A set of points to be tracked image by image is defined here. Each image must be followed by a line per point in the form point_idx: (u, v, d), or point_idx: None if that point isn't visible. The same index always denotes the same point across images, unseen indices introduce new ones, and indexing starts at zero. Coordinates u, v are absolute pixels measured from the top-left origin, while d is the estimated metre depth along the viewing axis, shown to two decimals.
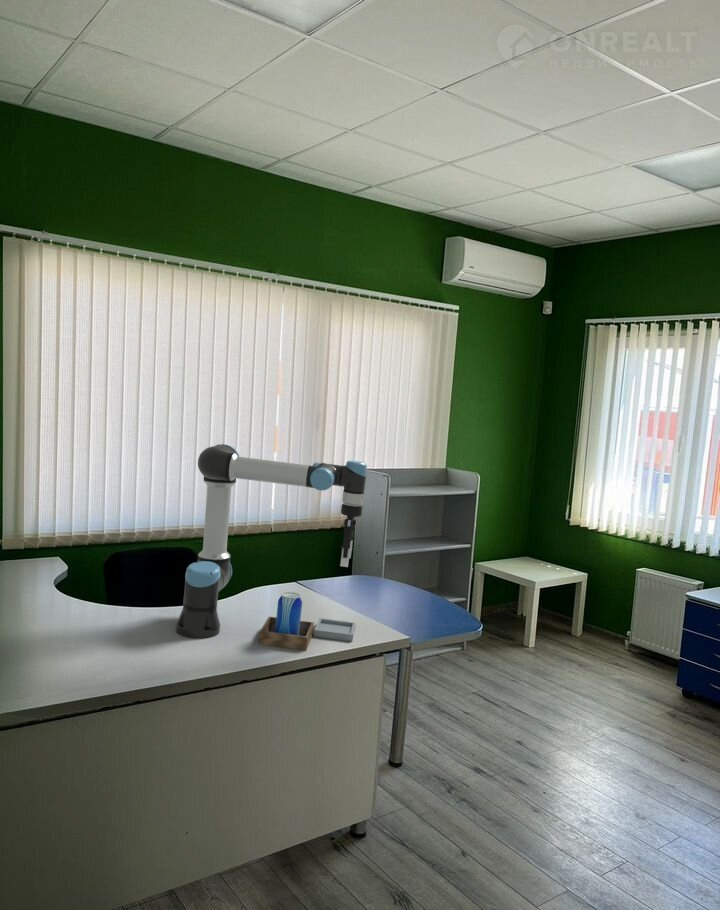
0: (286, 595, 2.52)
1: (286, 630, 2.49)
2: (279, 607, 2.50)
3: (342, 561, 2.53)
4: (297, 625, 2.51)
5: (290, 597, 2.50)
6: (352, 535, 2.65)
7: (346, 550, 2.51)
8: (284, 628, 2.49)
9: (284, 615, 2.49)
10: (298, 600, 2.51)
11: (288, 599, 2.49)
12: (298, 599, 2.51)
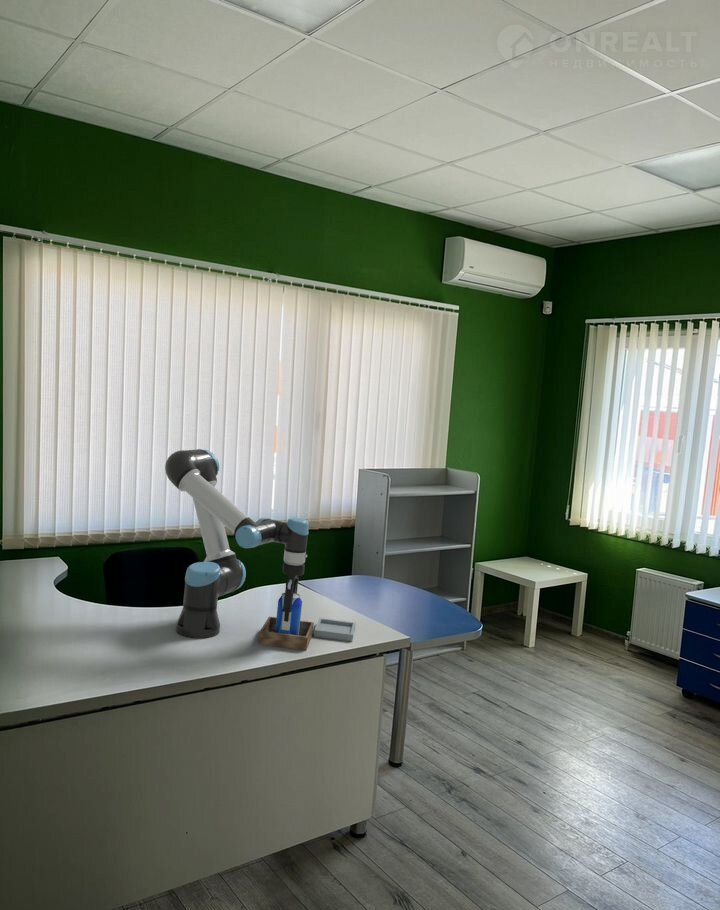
0: None
1: (286, 630, 2.49)
2: (279, 607, 2.50)
3: (283, 624, 2.48)
4: (297, 625, 2.51)
5: None
6: None
7: (287, 614, 2.47)
8: None
9: None
10: (298, 600, 2.51)
11: None
12: (298, 599, 2.51)
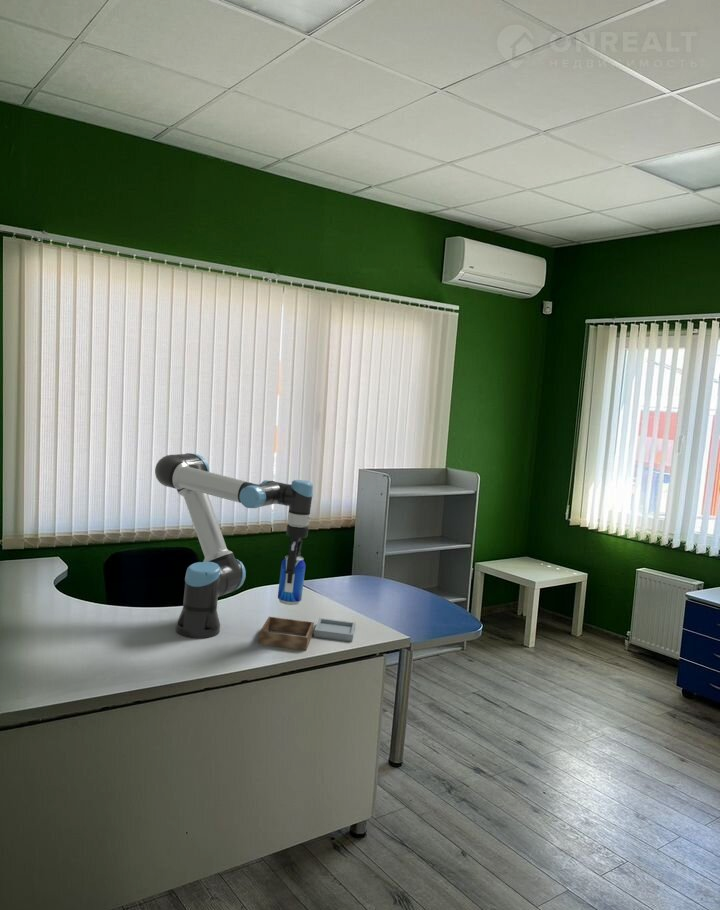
0: None
1: (289, 593, 2.48)
2: (282, 569, 2.49)
3: (286, 586, 2.47)
4: (300, 588, 2.50)
5: None
6: None
7: (290, 575, 2.46)
8: None
9: None
10: (302, 562, 2.50)
11: None
12: (301, 561, 2.50)
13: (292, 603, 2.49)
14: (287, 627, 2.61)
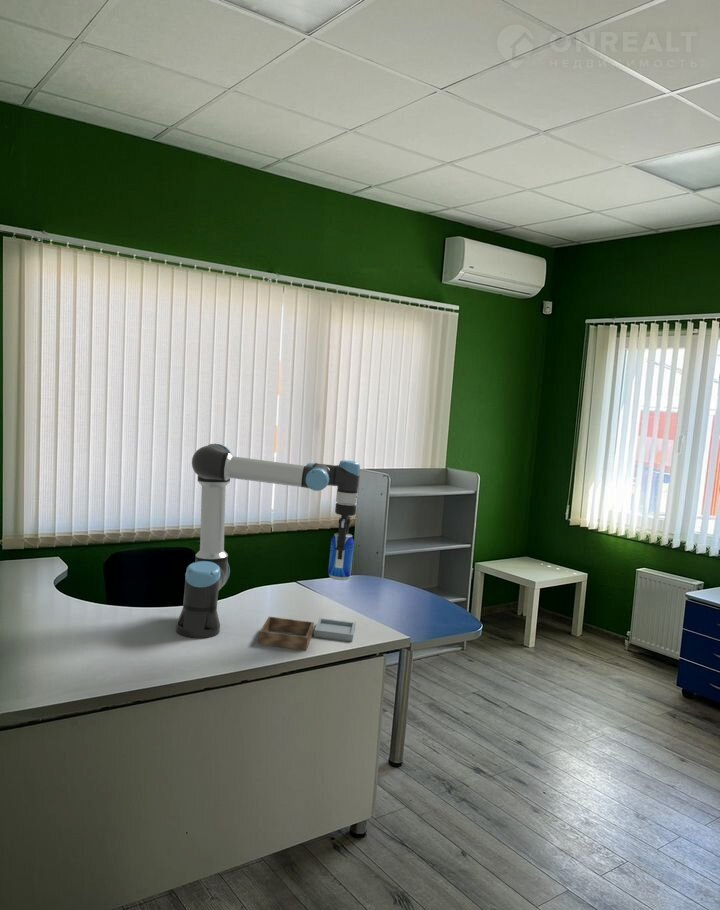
0: None
1: (339, 568, 2.58)
2: (332, 546, 2.60)
3: (337, 562, 2.58)
4: (350, 563, 2.60)
5: None
6: None
7: (341, 552, 2.56)
8: None
9: None
10: (351, 539, 2.60)
11: None
12: (350, 538, 2.60)
13: (342, 578, 2.59)
14: (287, 627, 2.61)
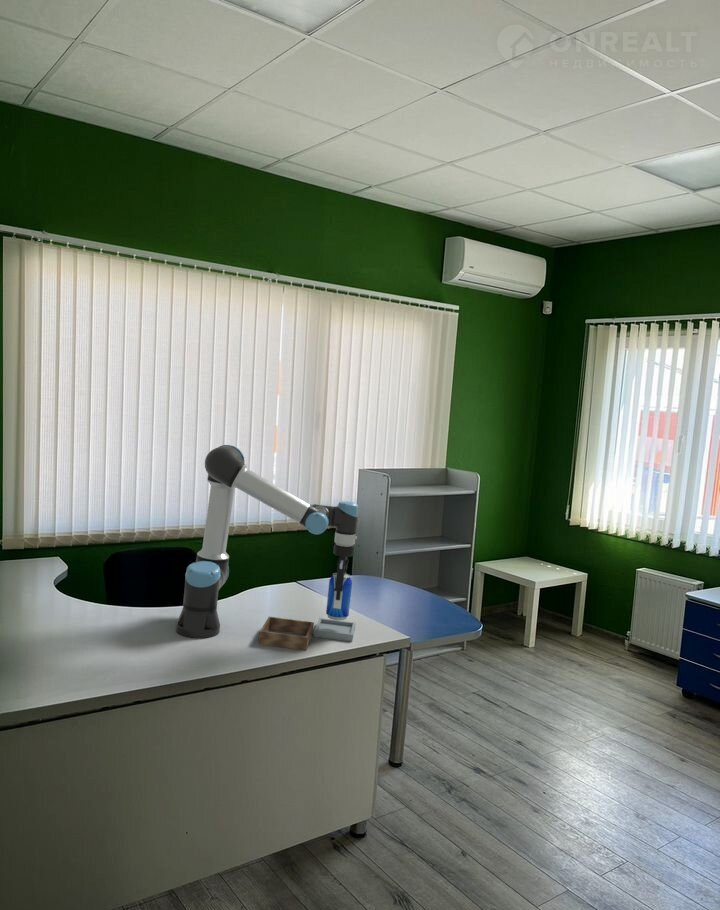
0: None
1: (337, 609, 2.61)
2: (331, 586, 2.62)
3: (335, 603, 2.60)
4: (348, 604, 2.63)
5: None
6: None
7: (339, 593, 2.58)
8: None
9: None
10: (349, 580, 2.62)
11: None
12: (349, 579, 2.62)
13: (340, 618, 2.62)
14: (287, 627, 2.61)
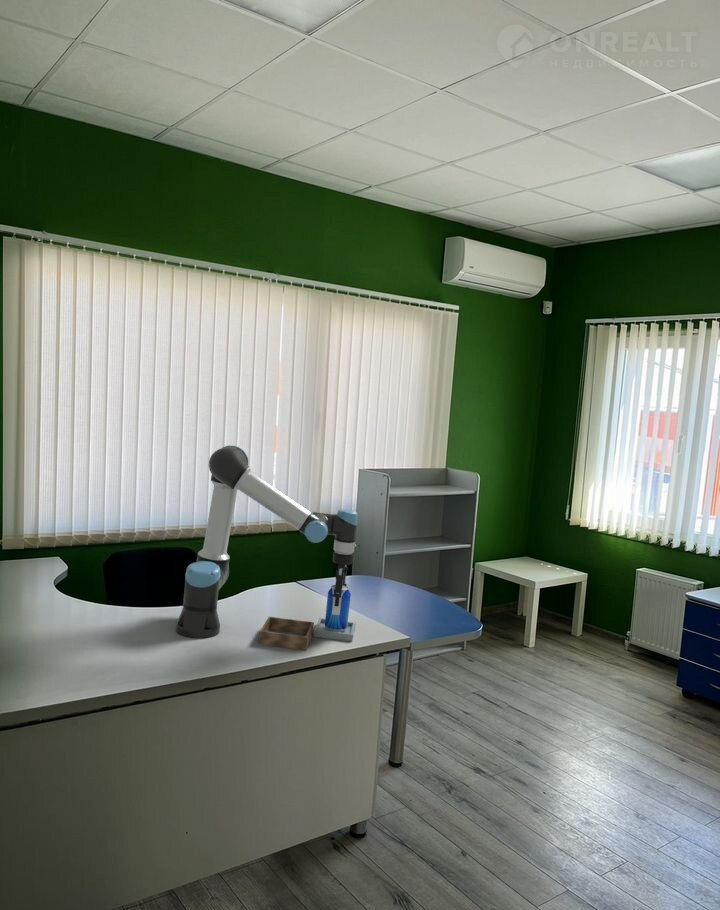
0: None
1: (336, 621, 2.61)
2: (329, 599, 2.62)
3: (334, 609, 2.58)
4: (346, 616, 2.63)
5: None
6: (344, 582, 2.70)
7: (337, 599, 2.56)
8: (334, 619, 2.61)
9: None
10: (347, 592, 2.63)
11: None
12: (347, 591, 2.63)
13: (338, 630, 2.62)
14: (287, 627, 2.61)
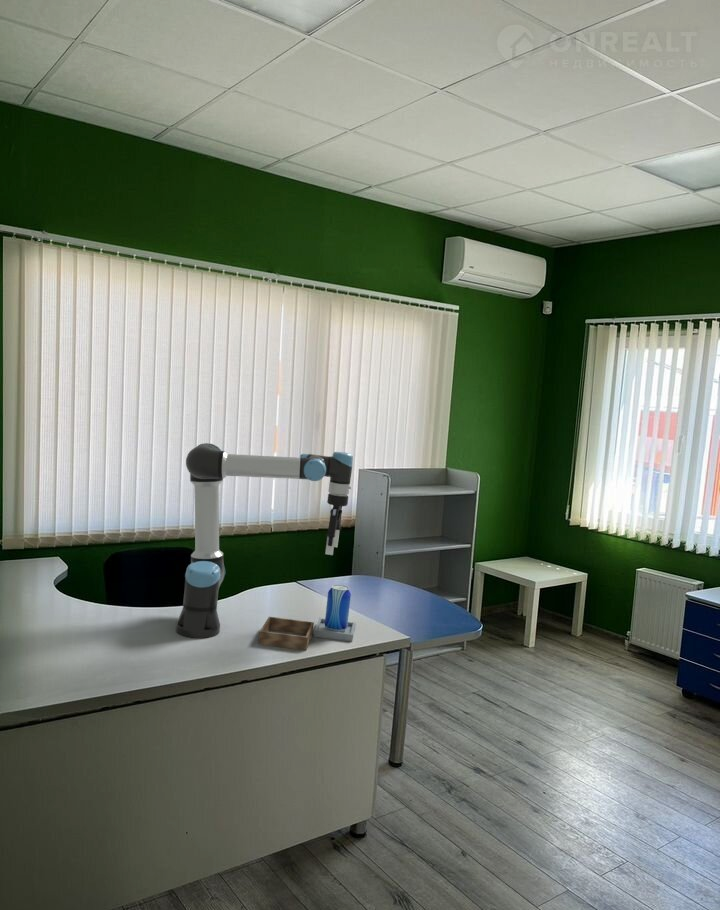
0: (335, 587, 2.64)
1: (336, 621, 2.61)
2: (329, 599, 2.62)
3: (327, 549, 2.59)
4: (346, 616, 2.63)
5: (340, 589, 2.63)
6: (339, 525, 2.71)
7: (331, 538, 2.58)
8: (334, 619, 2.61)
9: (334, 606, 2.61)
10: (348, 592, 2.63)
11: (338, 591, 2.61)
12: (347, 591, 2.63)
13: (338, 630, 2.62)
14: (287, 627, 2.61)
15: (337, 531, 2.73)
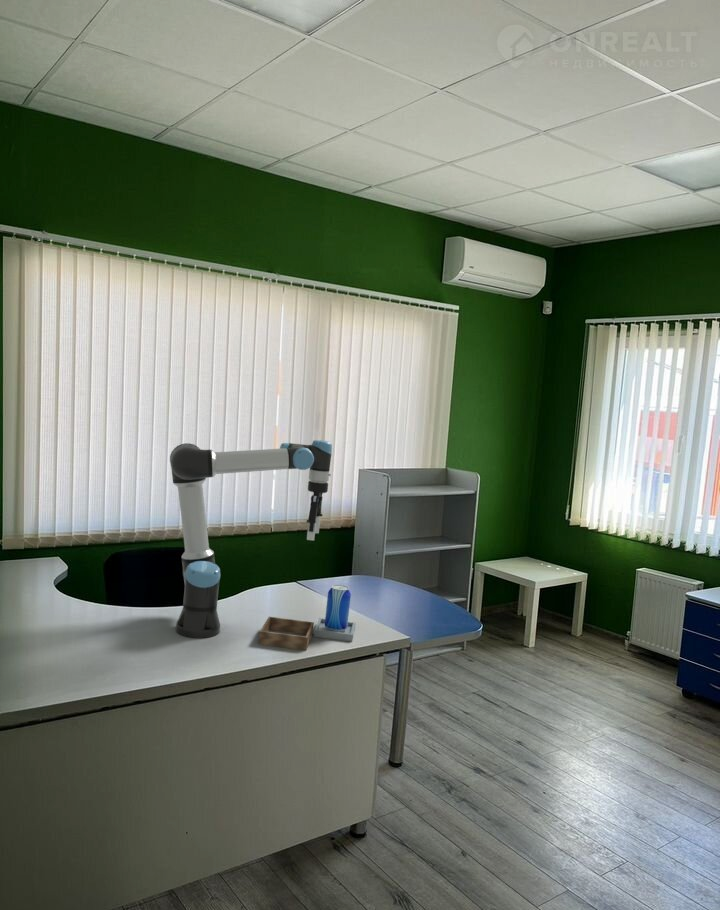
0: (335, 587, 2.64)
1: (336, 621, 2.61)
2: (329, 599, 2.62)
3: (308, 535, 2.66)
4: (346, 616, 2.63)
5: (340, 589, 2.63)
6: (319, 511, 2.78)
7: (312, 524, 2.65)
8: (334, 619, 2.61)
9: (334, 606, 2.61)
10: (347, 592, 2.63)
11: (338, 591, 2.61)
12: (347, 591, 2.63)
13: (338, 630, 2.62)
14: (287, 627, 2.61)
15: (318, 518, 2.79)
